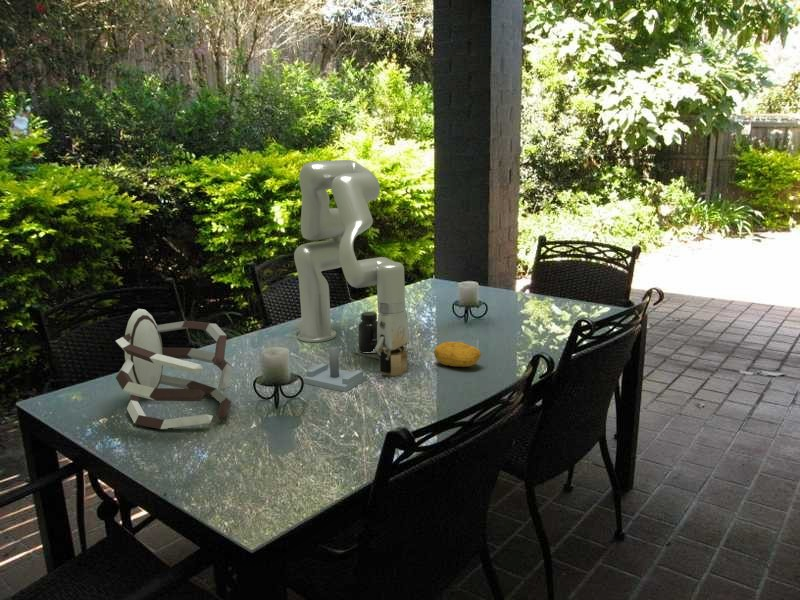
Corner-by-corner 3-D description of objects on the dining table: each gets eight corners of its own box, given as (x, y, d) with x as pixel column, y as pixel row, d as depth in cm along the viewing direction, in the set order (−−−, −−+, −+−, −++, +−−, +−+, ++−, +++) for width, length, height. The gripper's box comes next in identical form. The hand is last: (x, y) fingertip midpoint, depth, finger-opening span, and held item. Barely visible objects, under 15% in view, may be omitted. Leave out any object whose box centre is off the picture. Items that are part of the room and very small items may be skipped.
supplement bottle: (378, 354, 200) (376, 316, 197) (356, 354, 201) (354, 316, 198) (383, 347, 206) (382, 310, 203) (362, 347, 208) (360, 310, 205)
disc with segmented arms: (184, 376, 184) (263, 416, 163) (89, 409, 165) (165, 458, 143) (177, 293, 177) (259, 323, 156) (77, 317, 158) (155, 355, 136)
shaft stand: (303, 383, 179) (301, 349, 176) (326, 371, 187) (324, 339, 185) (345, 392, 172) (343, 357, 169) (366, 379, 180) (365, 346, 177)
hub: (375, 373, 184) (375, 352, 183) (389, 365, 190) (388, 345, 189) (397, 377, 181) (397, 356, 179) (410, 369, 187) (410, 349, 185)
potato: (443, 358, 195) (442, 336, 194) (484, 366, 188) (485, 343, 186) (429, 366, 189) (429, 343, 187) (472, 374, 182) (472, 351, 180)
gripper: (385, 316, 172) (388, 380, 176) (419, 301, 186) (420, 360, 191) (362, 312, 176) (364, 375, 180) (396, 298, 190) (398, 356, 194)
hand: (393, 367), depth 185 cm, fingers closed on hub, 7 cm apart
